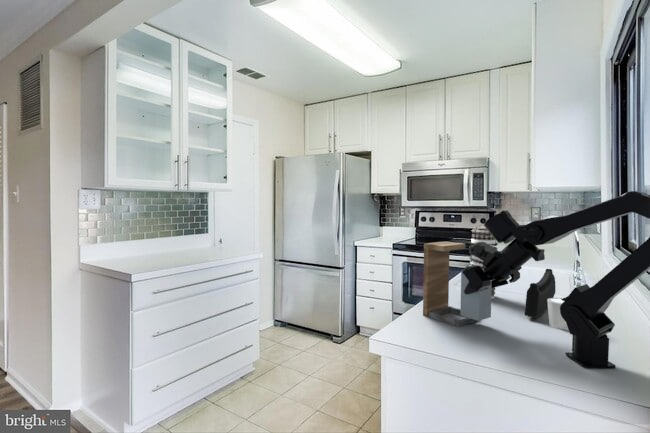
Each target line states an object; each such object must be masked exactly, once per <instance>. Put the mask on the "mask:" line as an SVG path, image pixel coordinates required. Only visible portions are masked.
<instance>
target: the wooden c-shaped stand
mask: <svg viewBox="0 0 650 433" xmlns="http://www.w3.org/2000/svg"><path fill="white" fill-rule="evenodd" d="M465 249H466V243H462V242H453V241H436V242H435V241H434V242H427V243H423V279H422V280H423V286H422V288H423V290H422V292H423V294H422V295H423V296H422V316H425V317H428V318H431V319H434V320H437V321H439V322H443V323H446V324H448V325H451V326H455V327H457V328H459V327H461V326H464V325H467V324H471V323H473V322H478V321H477V320H474V319H471V318H467V317H464V318H461V319H455V318H454V317H451V316H447V315H445V314H449V313H451V314H454V315H458V316H461V315H460V308H457V307H453V306H449V297H450V296H449V290H450V289H449V288H450V286H449V285H450V252H451V251H458V250H465Z"/></svg>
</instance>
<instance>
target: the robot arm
mask: <svg viewBox="0 0 650 433" xmlns="http://www.w3.org/2000/svg"><path fill="white" fill-rule="evenodd" d="M632 213H633V214H637V215H639V216H641V217H644V218H645V219H649V220H650V194H649V193H647V192H645V191H637V190H635V191H632V190H631V191H626V192H625V193H623V194H621V195H618V196H616V197H614V198H613V197H612V198H610V199H607V200H605V201H602V202H599V203H596V204H594V205H590V206H588V207H585V208H582V209H579V210H576V211H574V212H570V213H567V214H565V215H560V216H554V217H548V218H541V219H537V220H532V221H529V222H527V223H526V224H519V223H518V222H517V220H516V219H515V218H514V217H513V216H512V215H511V213H510V211H509V210H502V211H501V212H499V213H497V214H494V215H493V216H492V217H490V218H489V217H488V219H487V220H486V221H485V222H484V224H483V226H485V228H486V229H487V230H488V231H489V232H490V233H491V235H492V236H493V237H494V238H495V240H496V243H497V244H501V243H503V244H505V245H506V246H505V247H504V248H502V249H501V250H500V251H499V250H498V248H497V249H495V248H494V247H495V246H494V247H492V246H490V245H489V244H487V243H485V242H477V243H475V244H473V246H472V245H470V246H471V247H470V246H469V247H470V248H469V251H470V252H471V254H472V255H475V256H476V257H478V258H479V259H481V260H483V262H482V264H483V266H484V267H486V268H485V269H483V270H482V268H481V267H480V266H478V265H471V264H470V265H467V266H466V267H465V268H464V269H463V270H461V271H462V273H463V274H464V275H465V277H466V278H467V279H468V281H469V282H468V284H467V286H466V288H465V290H464V293H465V294H466V295H467V294H471V293H475V292H478V291H482V290H486V289H488V286H490V281H492V288H495V289H496V288H498V287H502V286H506V285H508V284H509V283H510V284H512V283H515V282H517V281H518V280H519V279H521V272H520V270H522V269H523V267H522V266H523V265H525V264H526V263H527V262H528V261H530V260H531V259H533V260H534V261H535V262H539V261H545V259H546V258H545V252H546V250H545V249H543V248H539V247H538V246H543V245H550V244H554V243H556V242H559V241H561V240H562V239H564V238H566V237H568V236H569V235H571V234H573V233H575V232H576V231H579V230H581V229H585V228H588V227H592V226H595V225H598V224H601V223H605V222H608V221H610V220H615V219H617V218H620V217H624V216H627V215H630V214H632ZM470 249H471V250H470ZM471 254H470V255H471ZM649 270H650V236H649V237H648V238H647V239H646V240H645V241H644V242H643V243H642V244H640V245H639V246H638V247H637V248H636V249H634V251H632V252H631V253H630V254H628V255H627V257H625V258H624V259H623V260H621V261H620V262H619V263H618V264H617V265H616V266H615V267H614V268H613V269H612V270H610V271H608V273H607V274H606V275H604V276H603V277H602V278H601V279H600V280H598V281H597V282H596V283H595V284H593V285H592V286H589V285H588V283H585V284H582V285H579V286H576V287H574V288H573V289H572V290H571V292H570V293H569V295H567V296H566V297H563V298H562V299H561V300H562V301H564V302H563V303H562V304H561V306H560V313H561V316H562V318H563V319H564V320H565V321H566V323H567V326H568V329H569V330H568V331H569V334H570V335H572V337H571V338H572V341H571V342H572V345H571V352H570V351H569V352H565V354H564V355H565V356H566V357H568V358H570V359H571V360H573V361H574V362H575V363H577V364H579V365H580V366H582V367H583V368H588V369H591V368H592V369H605V368H606V369H615V368H616V364H615V363H612V362H611V361H609V353H610V352H609V351H610V349H609V348H610V338H609V337H608V336H609V335H607V334H608V333H612V331H613V330H614V327H615V326H616V325H615V322H614V321H612V319H611V318H610V317H609V316H608V315H607V314H606V313H605V312H606V310H607V309H609V307H610V306H611V303H612V302H613V300H614V298H616V297H617V296H618V295H619V294H621V293H622V292H623V291H625V290H626V289H627V288H628V287H629V286H630V285H632V284H633V283H634V282H636V281H637V280H638V279H640V278H641V277H642V276H643V275H645V273H646V272H648V271H649Z"/></svg>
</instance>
